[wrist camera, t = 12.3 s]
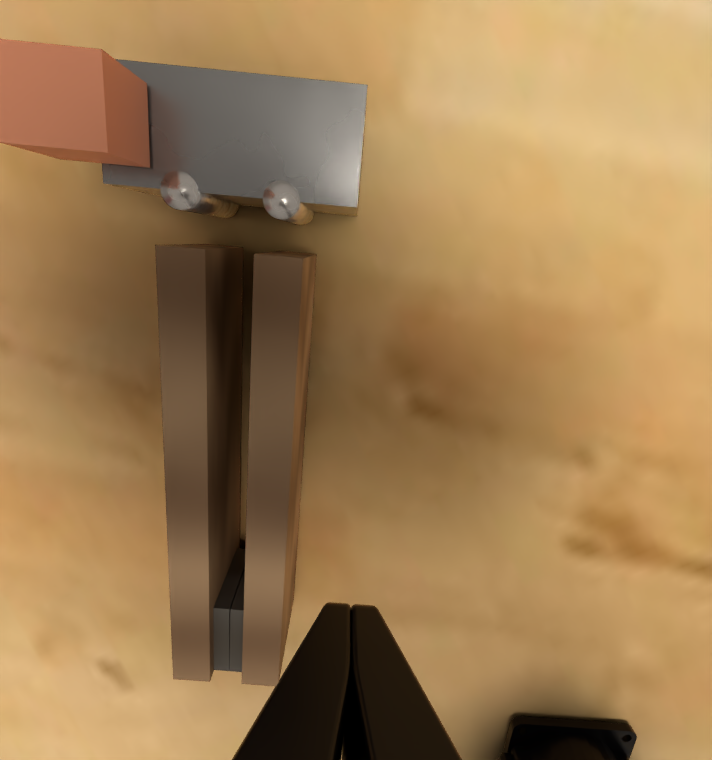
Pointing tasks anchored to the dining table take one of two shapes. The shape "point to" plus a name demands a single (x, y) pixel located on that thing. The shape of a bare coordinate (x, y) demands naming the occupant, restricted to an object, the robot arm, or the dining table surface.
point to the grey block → (248, 142)
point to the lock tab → (72, 104)
